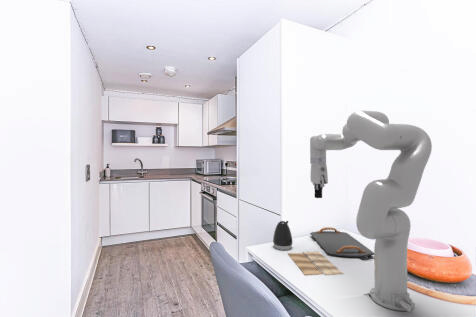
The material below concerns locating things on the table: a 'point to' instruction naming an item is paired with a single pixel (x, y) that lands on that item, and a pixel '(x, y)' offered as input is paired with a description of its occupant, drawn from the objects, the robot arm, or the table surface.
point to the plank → (304, 264)
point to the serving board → (340, 244)
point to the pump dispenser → (282, 236)
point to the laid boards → (323, 263)
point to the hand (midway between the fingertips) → (318, 197)
